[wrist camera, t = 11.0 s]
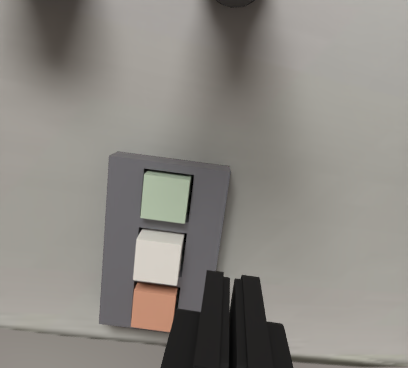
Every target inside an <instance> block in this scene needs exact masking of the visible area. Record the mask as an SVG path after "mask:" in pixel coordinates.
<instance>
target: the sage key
mask: <svg viewBox="0 0 408 368" xmlns="http://www.w3.org/2000/svg"><path fill="white" fill-rule="evenodd" d="M191 181H192V175H190V174H182V173H175V172H167V171H160V170H152V169H149V170H148V171H147V172H146V173H145V174H144V181H143V193H142V204H141V216H140V218H145V219H152V220H160V221H167V222H175V223H182V224H185V221H186V217H187V213H188V205H189V197H190V189H191Z"/></svg>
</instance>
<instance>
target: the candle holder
mask: <svg viewBox="0 0 408 368" xmlns="http://www.w3.org/2000/svg"><path fill="white" fill-rule="evenodd" d="M217 1H218V2H219V3H220V4H223V5H226V6H229V7H241V6H245V5H247V4H249V3H251V2H253V1H254V0H217Z"/></svg>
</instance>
